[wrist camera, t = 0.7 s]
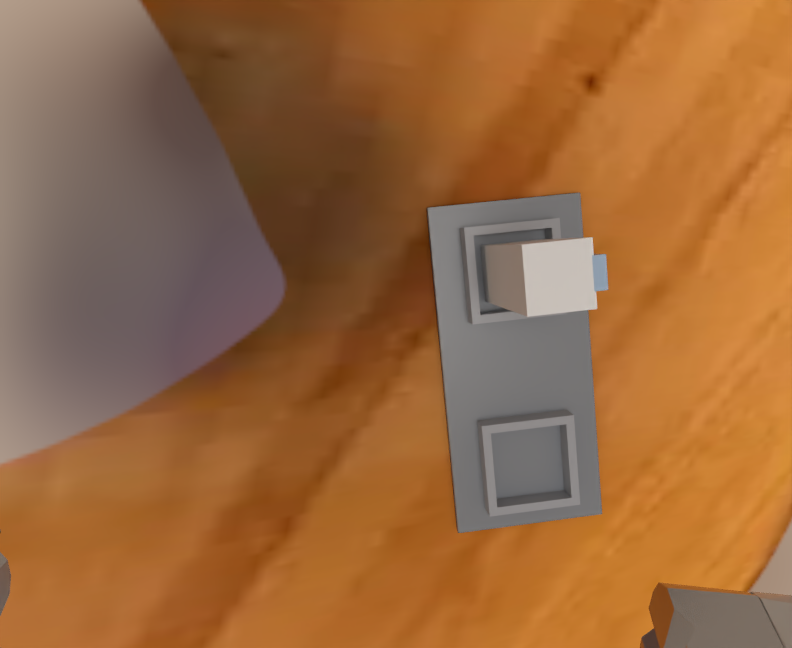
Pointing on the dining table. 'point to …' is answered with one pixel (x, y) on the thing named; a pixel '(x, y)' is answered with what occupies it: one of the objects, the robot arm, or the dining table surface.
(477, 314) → the grey flat plate
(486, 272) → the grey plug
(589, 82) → the dining table surface
